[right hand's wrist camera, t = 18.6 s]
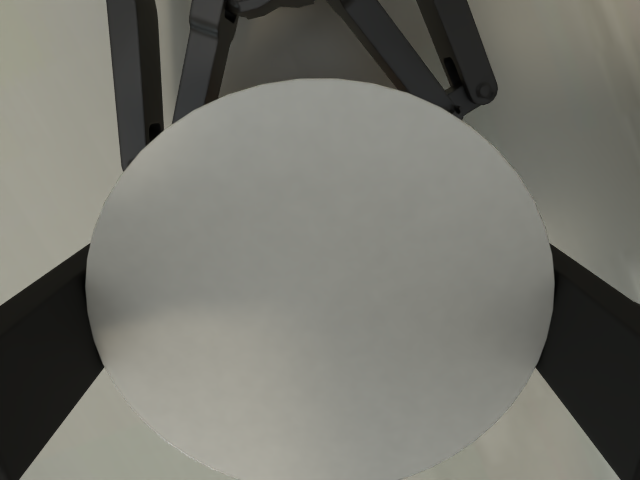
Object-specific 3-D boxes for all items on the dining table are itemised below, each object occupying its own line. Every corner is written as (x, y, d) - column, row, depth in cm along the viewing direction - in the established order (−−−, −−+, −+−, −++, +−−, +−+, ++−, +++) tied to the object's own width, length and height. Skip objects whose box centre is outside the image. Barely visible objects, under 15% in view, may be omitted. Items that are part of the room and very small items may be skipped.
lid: (585, 161, 11) (652, 180, 9) (420, 461, 15) (437, 528, 12) (168, 12, 10) (124, -9, 8) (103, 380, 13) (60, 438, 11)
